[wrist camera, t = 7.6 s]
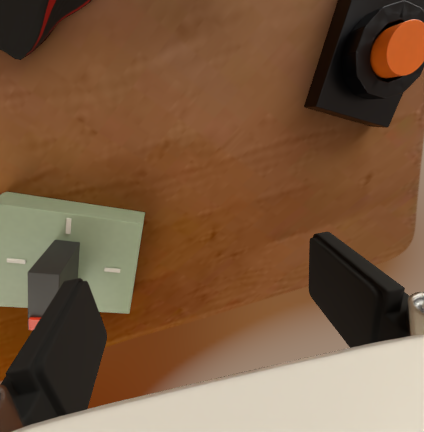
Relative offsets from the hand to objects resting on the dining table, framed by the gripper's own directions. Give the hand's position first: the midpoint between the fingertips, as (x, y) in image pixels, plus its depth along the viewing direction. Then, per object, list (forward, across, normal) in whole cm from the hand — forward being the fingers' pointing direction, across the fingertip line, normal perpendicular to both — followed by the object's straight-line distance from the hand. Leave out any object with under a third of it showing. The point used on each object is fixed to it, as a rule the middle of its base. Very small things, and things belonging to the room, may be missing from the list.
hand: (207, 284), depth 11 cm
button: (+13, -18, -9) cm, 24 cm away
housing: (+16, -18, -9) cm, 26 cm away
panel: (+16, +12, +4) cm, 20 cm away
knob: (+13, +12, +5) cm, 18 cm away
